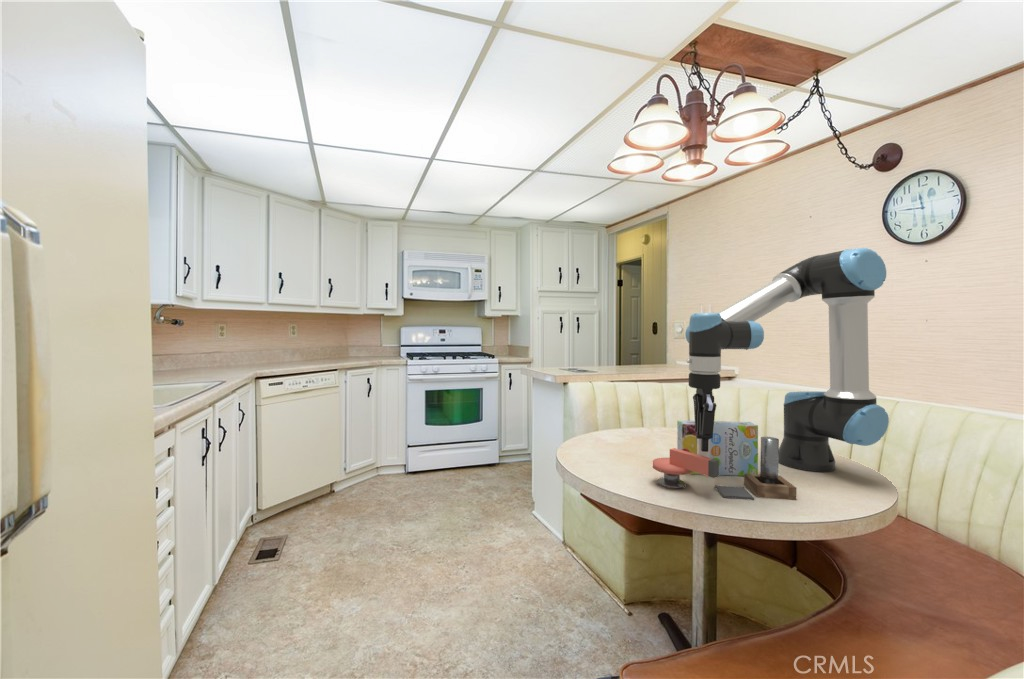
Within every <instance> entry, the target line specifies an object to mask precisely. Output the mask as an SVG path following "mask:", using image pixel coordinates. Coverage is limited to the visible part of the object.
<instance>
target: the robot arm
mask: <svg viewBox="0 0 1024 679" xmlns="http://www.w3.org/2000/svg"><path fill="white" fill-rule="evenodd" d="M886 279H887V267H886V264H885V262H884V260H883V258H882V257H881V255H879V254H878V253H877V252H876V251H875V250H872V249H871V248H865V247H861V248H857V247H856V248H849V249H844V250H840V251H835V252H829V253H825V254H818V255H814V256H811V257H808V258H806V259H803V260H801V261H799V262H798V263H796V264H794V265H792V266H790V267H788V268H787V269H784V270H783V271H781V272H779V273H777V274H776V275H775V276H773V278H772V280H771V282H769V283H768V284H766V285H764V286H761V288H758V289H756V290H755V291H753V292H752V293H749V295H747V296H745V297H743V298H742V299H741V298H740V300H738V301H736V302H735V303H732V304H731V305H730V306H727V307H726V308H724V309H723V310H721V311H719V312H699V313H698V312H696V313H693V314H690V316H689V322H688V323H689V324H688V326H687V327H686V330H685V335H684V336H685V339H686V341H687V343H688V359H687V360H686V363H687V364H688V370H689V371H690V372H689V373H688V386H689V387H690V388H692V389H696V390H695V393H694V394H693V396H692V399H693V412H694V421H695V432H697V436H696V438H697V455H701V456H704V457H708V458H710V438H713V427H714V421H715V415H716V409H717V403H716V402H715V396H714V395H713V390H718V389H720V388H721V374H720V372H721V371H722V355H721V354H722V350H754V349H757V348H759V347H760V346H761V345H762V344H763V342H764V339H765V331H764V327H763V326H762V325H761V324H760V323H759V322H758V321H757V320H759V319H760V318H763V317H764V316H765V315H768V314H769V313H771V312H772V311H774V310H776V309H777V308H779V307H781V306H783V305H784V304H786V303H794V302H796V301H798V300H800V299H802V298H804V297H805V298H806V297H808V296H815V295H821V300H822V301H823V302H824V303H825V304H826V305H828V338H829V339H828V343H829V344H828V345H829V389H828V390H827V391H788V392H787V393H786V394H785V395H784V399H783V400H784V402H783V438H782V440H781V443H780V444H779V460H778V464H779V463H780V464H781V465H783V466H786V467H790V468H794V469H797V470H798V469H799V470H802V471H809V472H818V473H819V472H821V473H822V472H823V473H824V472H833V471H835V470H836V460H835V457H834V454H833V452H832V448H831V445H830V442H829V440H830V439H834V440H837V441H841V442H845V443H847V444H850V445H858V446H862V447H863V446H864V447H866V446H871V445H874V444H876V443H878V442H879V441H880V440H881V439H882V437H884V436H885V434H886V432H887V431H888V427H889V422H890V418H889V414H888V412H887V411H886V409H885V408H884V407H882V406H880V405H879V404H878V403H877V395H876V394H875V393H873V391H871V390H870V376H869V374H870V372H869V369H870V367H869V320H868V319H869V314H868V312H869V310H868V304H869V302H870V301H872V300H873V299H874V298H875V297H876V296H875V295H876V294H875V293H876V292H875V290H877V289H879V288H880V287H882V286H883V285H884V282H885V281H886Z"/></svg>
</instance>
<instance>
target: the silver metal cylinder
mask: <svg viewBox="0 0 1024 679" xmlns="http://www.w3.org/2000/svg"><path fill="white" fill-rule="evenodd" d="M779 447H780V440H779V438H778V437H773V436H760V464H759V465H760V469H759V470H760V471H759V474H760V482H761V483H765V484H778V475H779V462H778V460H779Z"/></svg>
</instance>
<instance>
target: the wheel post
mask: <svg viewBox="0 0 1024 679" xmlns="http://www.w3.org/2000/svg"><path fill="white" fill-rule="evenodd" d="M680 476H681V475H673V474H666V473H663V477H660V478H659V479H658V480H657V481H658V482H657V483H658V485H659V486H661V487H664V488H666V489H670V490H671V489H672V490H680V489H684V488H686V482H685V481H683V480H682V479H681V477H680Z"/></svg>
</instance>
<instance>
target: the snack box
mask: <svg viewBox="0 0 1024 679" xmlns="http://www.w3.org/2000/svg"><path fill="white" fill-rule="evenodd" d="M676 428H677V430H676V431H677V432H676V434H677V438H676V440H677V443H676V444H677V447H676V449H679V450H683V451H687V452H690V453H694V454H697V438H696V436H697V432H695V420H677V427H676ZM710 458H711V459H715V460H718V461H719V476H739V477H744V474H759V425H758V424H755V423H753V422H751V421H725V420H724V421H723V420H722V421H719V420H718V421H717V420H716V421H715V420H714V427H713V438H710ZM688 475H701V474H700V473H697V472H694V471H692V472H691V473H689V474H688Z"/></svg>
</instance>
